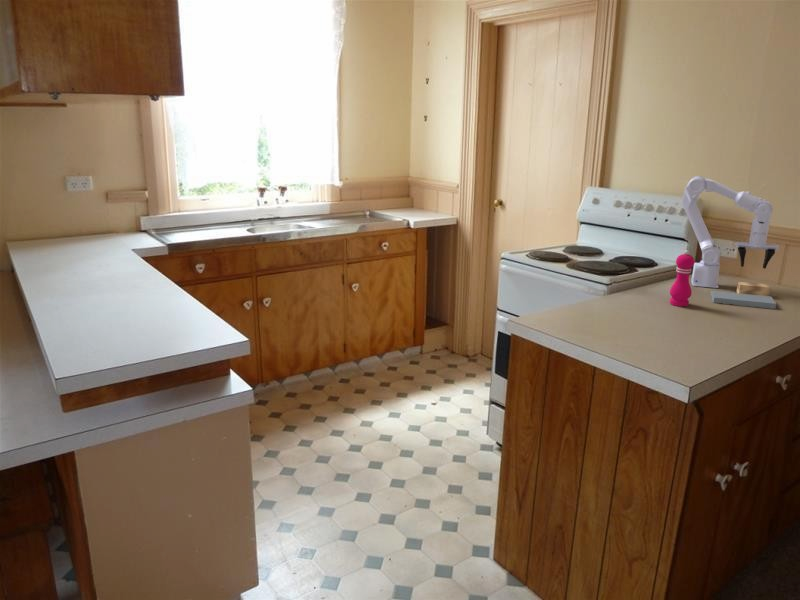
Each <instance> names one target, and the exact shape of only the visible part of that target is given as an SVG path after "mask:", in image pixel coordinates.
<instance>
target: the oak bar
mask: <svg viewBox="0 0 800 600" xmlns="http://www.w3.org/2000/svg"><path fill="white" fill-rule="evenodd" d="M770 290H771V287H770V286H769V284H767V283H759V282H758V283H757V282H747V281H737V287H736V291H735V293H736V292H737V293H739V294H750V295H760V296H770Z"/></svg>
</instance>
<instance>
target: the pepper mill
mask: <svg viewBox="0 0 800 600" xmlns="http://www.w3.org/2000/svg"><path fill="white" fill-rule="evenodd" d="M694 263H695V258H694V257H693V256H692V254H691V255H690V251H689V250H687V249H685V250H684V251H683V254H680V255H678V257H676V259H675V264H676V270H675V272H676V278H675V281H674V282H673V284H672V285H671V287H670V289H669V295H670V296H671V297H670V299H669V304H670V305H671V304H672V305H671V306H674V305H675V307H679V306H686V307H688V306H689V303H690V301H689V299H690V298H691V296H692V288H691V284H690V280H689V279H690V274H691V273H692V271H693V268H692V267H694Z"/></svg>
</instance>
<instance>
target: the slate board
mask: <svg viewBox="0 0 800 600" xmlns="http://www.w3.org/2000/svg"><path fill="white" fill-rule="evenodd" d="M711 297H712V298H711ZM710 298H711V301H712V302H713V304H719V303H723V304H722V305H729V304H733V305H732V306H739V305H740V307H741V306H742V307H750V308H751V307H752V308H761V309H771V310H776V309H777V308H776V307H777V302H776V301H775V300H774V298H773V297H772V296H770V295H769V296H760V295H750V294H739V293H736V292H728V291H727V292H726V291H719V290H718V291H717V290H711V291H710Z"/></svg>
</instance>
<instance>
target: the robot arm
mask: <svg viewBox="0 0 800 600" xmlns="http://www.w3.org/2000/svg"><path fill="white" fill-rule="evenodd" d="M704 191H705V193H711V192H713V193H716V194H718V195H722V196H724V197H726V198H728V199H730V200H732V201H734V205H735V206H737V207H739V208H742V209H744V210H746V211H748V212H750V213H754V217H753V220H752V224H751V230H750V234H749V241H748V242H746V241H735V246H734V247H735V248H736V249H737V250H738V253H739V254H738V255H739V258H740V267H742V268H743V267H744V265H745V258H746V254H747V250H746V249H751V250H753V249H754V250H765V253H764V260H763V264H762V268H763V269H767V266H768V264H769V262H770V260H771V259H772V258H773V256H774V255H775V254H776V251H777V252H778V251H779V248H780V245H778V244H772V243H767V238H768V234H769V228H770V223H771V222H770V220H771V215H772V214H773V205H772V203H771V202H769V201H768V200H767V199H764V198H762V197H758V196H756V195H754V194H751V191H749V190H747V191H744V190H743V191H739V192H738V191H737V190H733V189H732V188H730V187H728V186H726V185H724V184H722V183H720V182H718V181H716V180H713V179H711V178H707V177H706V178H705V177H704V176H702V175H695V176H693V177H692V178H691V179H690V180H689V182H687V184H686V186H685V187H684V191H683V196H682V201H681V205H682V207H683V209H684V212H685V214H686V216H687V218H688V221H689V222H690V225H691V227H692V229H693V231H694V234H695V235H694V236H695V237H696V239H697V242H698V243H699V247H700V249H701V253H702V255H701V260H700V262H694V265H693V266H692V267H693V268H692V274H691V285H692V286H693V287H704V288H705V287H706V288H714V289H718V288H719V285H718V278H719V272H720V267H721V263H720V259H721V254H722V251H721V249H720V248H719V246H717V245H716V244H715V242H714V240H713V238H712V236H711V234H710V232H709V230H708V228H707V226H706V223H705V220H704V219H703V217H702V214H701V212H700V209H699V207H698V204H697V200H698V198H699V196H700V195H701V194H702V193H703V192H704Z"/></svg>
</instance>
